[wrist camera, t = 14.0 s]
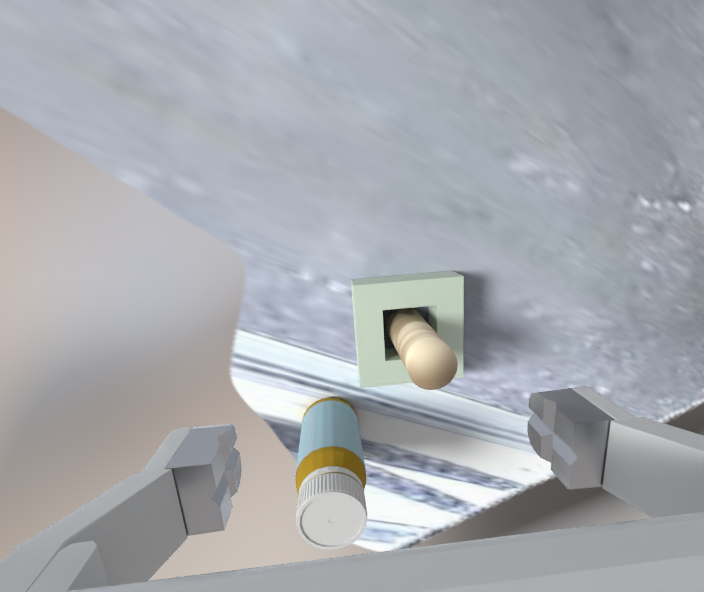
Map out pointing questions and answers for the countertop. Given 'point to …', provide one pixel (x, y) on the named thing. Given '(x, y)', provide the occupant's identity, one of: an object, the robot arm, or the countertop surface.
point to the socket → (397, 293)
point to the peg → (421, 349)
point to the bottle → (330, 476)
